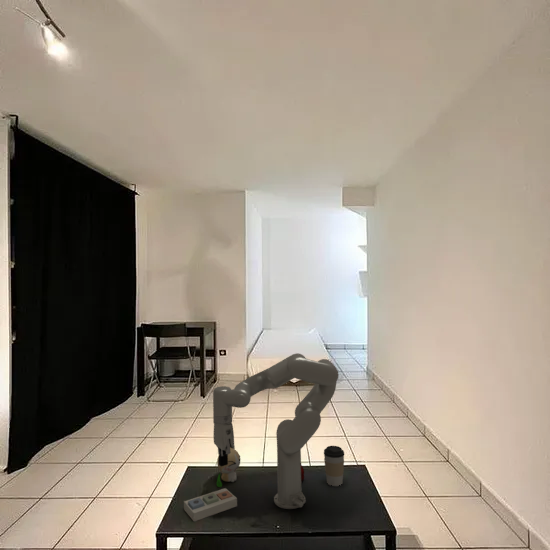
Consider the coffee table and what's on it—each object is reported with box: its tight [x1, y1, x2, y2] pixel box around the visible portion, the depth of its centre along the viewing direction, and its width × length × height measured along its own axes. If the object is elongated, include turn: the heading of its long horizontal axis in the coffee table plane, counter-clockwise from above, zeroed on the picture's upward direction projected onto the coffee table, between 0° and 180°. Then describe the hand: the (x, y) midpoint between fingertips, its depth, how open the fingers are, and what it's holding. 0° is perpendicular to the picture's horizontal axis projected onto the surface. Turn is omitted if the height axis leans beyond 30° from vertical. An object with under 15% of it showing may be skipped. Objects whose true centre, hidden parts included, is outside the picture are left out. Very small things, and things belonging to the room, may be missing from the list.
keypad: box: [183, 487, 238, 522], centre depth 156 cm, size 10×18×3 cm, turn 124°
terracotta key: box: [217, 490, 232, 500], centre depth 160 cm, size 5×5×2 cm
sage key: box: [203, 492, 219, 505], centre depth 157 cm, size 5×5×2 cm
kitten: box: [216, 445, 241, 488], centre depth 179 cm, size 15×10×15 cm
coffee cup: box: [323, 445, 345, 487], centre depth 175 cm, size 9×9×15 cm
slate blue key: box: [188, 498, 204, 510], centre depth 153 cm, size 5×5×2 cm
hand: (223, 464), depth 160 cm, fingers closed
